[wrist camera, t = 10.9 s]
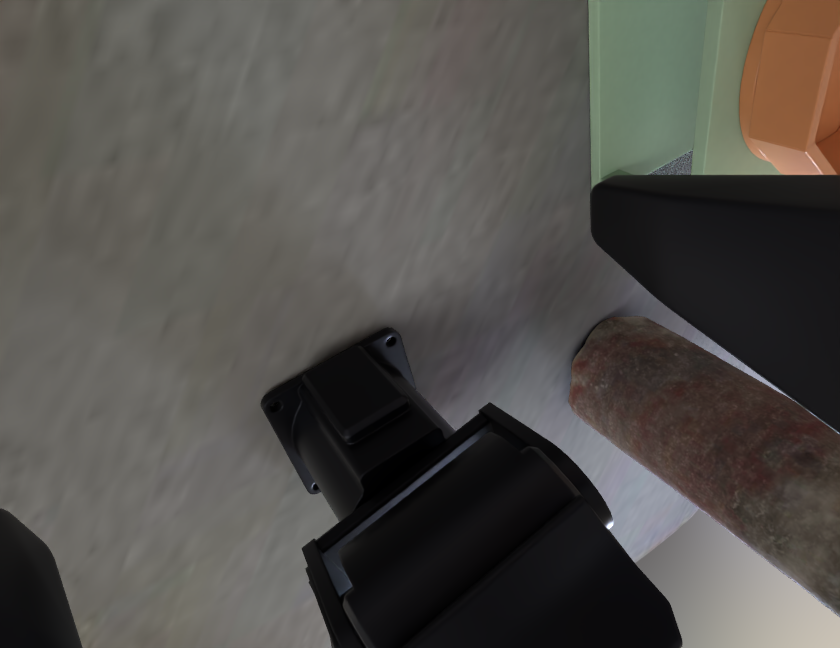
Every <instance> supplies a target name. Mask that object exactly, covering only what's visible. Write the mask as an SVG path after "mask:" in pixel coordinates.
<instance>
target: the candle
mask: <svg viewBox="0 0 840 648" xmlns="http://www.w3.org/2000/svg"><path fill="white" fill-rule="evenodd" d="M571 376H572V381H571V384H570V394H569V400H568V402H569V404H570V406H571V408H572V411H573V412H574V413H575V414H576V415H577V416H578V417H579V418H580V419H581V420H582V421H584V422H585V423H586V424H588V425H589V426H590V427H592V428H593V429H594V430H596V431H597V432H598V433H600V434H601V435H602V436H604V437H605V438H606V439H607V440H609V441H610V442H611V443H613V444H614V445H615V446H616V447H618V448H619V449H620V450H622V451H623V452H624V453H626V454H627V455H628V456H630V457H631V458H632V459H634V460H635V461H636V462H638V463H639V464H640V465H642V466H643V467H644V468H646V469H647V470H648V471H650V472H651V473H652V474H654V475H655V476H656V477H658V478H659V479H661V480H662V481H663V482H665V483H666V484H667V485H669V486H670V487H672V488H673V489H674V490H675V491H677V492H678V493H679V494H680V495H682V496H683V497H684V498H686V499H687V500H688V501H689V502H691V503H692V504H693V505H695V506H696V507H697V508H699V509H700V510H701V511H703V512H704V513H706V514H707V515H708V516H710V517H711V518H712V519H714V520H715V521H716V522H718V523H719V524H720V525H721V526H723V527H724V528H725V529H726V530H728V531H729V532H730V533H731V534H733V535H734V536H735V537H737V538H738V539H739V540H740V541H742V542H743V543H744V544H746V545H747V546H748V547H750V548H751V549H752V550H754V551H755V552H756V553H757V554H759V555H760V556H761V557H763V558H764V559H765V560H766V561H768V562H769V563H770V564H772V565H773V566H774V567H776V568H777V569H778V570H779V571H781V572H782V573H783V574H785V575H786V576H787V577H789V578H790V579H792V580H793V581H794V582H796V583H797V584H798V585H800V586H801V587H802V588H803V589H805V590H806V591H807V592H808V593H810V594H811V595H812V596H813V597H815V598H816V599H817V600H818V601H820V602H821V603H822V604H823V605H825V606H826V607H827V608H828V609H830V610H831V611H833V612H834V613H835V614H836V615H837V616H839V617H840V434H839V433H837V432H836V431H835V430H833V429H832V428H830V427H829V426H828V425H826V424H825V423H824V422H822V421H821V420H820V419H818V418H817V417H816V416H814V415H813V414H811V413H810V412H809V411H807V410H806V409H805V408H803V407H802V406H801V405H799V404H798V403H797V402H795V401H793V400H792V399H790V398H788V397H787V396H785V395H783V394H781V393H779V392H777V391H776V390H774V389H772V388H771V387H769V386H767V385H765V384H764V383H762V382H760V381H759V380H757V379H755V378H753V377H752V376H750V375H748V374H746V373H744V372H743V371H741V370H739V369H738V368H736V367H734V366H732V365H730V364H729V363H727V362H725V361H723V360H722V359H720V358H718V357H717V356H715V355H713V354H712V353H710V352H708V351H706V350H704V349H703V348H701V347H699V346H697V345H695V344H694V343H692V342H690V341H689V340H687V339H685V338H683V337H681V336H680V335H678V334H676V333H674V332H672V331H670V330H668V329H666V328H665V327H663V326H661V325H659V324H657V323H655V322H654V321H652V320H650V319H648V318H645V317H640V316H629V317H612V318H609V319H607V320H604V321H603V322H601V323H600V324H599V325H598V326H596V328H595V329H594V330H593V331H592V332H591V334H590V335H589V337H588V338H587V340H586V343H585V345H584V346H583V347H582V349H581V350H580V351H579V353H578V354H577V355H576V357H575V358H574V360H573V362H572V368H571Z"/></svg>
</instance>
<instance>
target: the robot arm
mask: <svg viewBox="0 0 840 648" xmlns="http://www.w3.org/2000/svg"><path fill="white" fill-rule="evenodd" d="M590 219H591V234H592V237H593V239H594V241H595V242H596V243H597V245H598V246H599V247H601V248H602V249H603V250H604V251H605V252H606V253H607V254H608V255H609V256H610V257H612V258H613V259H614V260H615V261H616V262H617V263H618V264H619V265H620V266H621V267H623V268H624V269H625V270H626V271H627V272H628V273H629V274H630V275H631V276H632V277H634V278H635V279H636V280H637V281H638V282H639V283H640V284H641V285H642V286H643V287H645V288H646V289H647V290H648V291H649V292H650V293H651V294H652V295H654V296H655V297H656V298H657V299H658V300H659V301H661V302H662V303H663V304H664V305H666V306H667V307H668V308H669V309H671V310H672V311H673V312H675V313H676V314H678V315H679V316H680V317H682V318H683V319H684V320H686V321H687V322H688V323H690V324H691V325H692V326H694V327H695V328H696V329H698V330H699V331H701V332H702V333H703V334H705V335H706V336H707V337H709V338H710V339H711V340H713V341H714V342H715V343H717V344H718V345H719V346H721V347H722V348H724V349H725V350H726V351H728V352H729V353H730V354H732V355H733V356H734V357H736V358H737V359H738V360H740V361H741V362H742V363H744V364H745V365H747V366H748V367H749V368H751V369H752V370H753V371H755V372H756V373H757V374H759V375H760V376H761V377H763V378H764V379H765V380H767V381H768V382H770V383H771V384H772V385H774V386H775V387H776V388H778V389H779V390H781V391H782V392H783V393H785V394H786V395H787V396H789V397H790V398H791V399H793V400H794V401H795V402H797V403H798V404H799V405H801V406H802V407H803V408H805V409H806V410H807V411H809V412H810V413H811V414H813V415H814V416H816V417H817V418H818V419H820V420H821V421H822V422H824V423H825V424H826V425H828V426H829V427H830V428H832V429H833V430H835V431H836V432H837V433H839V434H840V175H614V176H611V177H609V178H607V179H605V180H603V181H601V182H600V183H598V184H596V185H595V186H594V187H593V188H592V191H591V193H590ZM390 337H391V339H390V340H389V341H388V342H386V341H387V339H388V338H390ZM274 402H278V403H277V404H276V405H275V406H272V407H271V405H272V404H273V403H274ZM261 407H262V409H263V411H264V413H265V415H266V417H267V418H268V420H269V422H270V424H271V426H272V427H273V429H274V431H275V433H276V435H277V437H278V438H279V440H280V442H281V444H282V446H283V447H284V449H285V451H286V453H287V455H288V457H289V458H290V460H291V462H292V464H293V466H294V467H295V469H296V471H297V473H298V475H299V477H300V478H301V480H302V482H303V484H304V486H305V487H306V489H307V491H308V492H309V493H310V494H317V493H320V492H322V494H323V495H324V497H325V499H326V500H327V502H328V504H329V505H330V507H331V509H332V510H333V512H334V514H335V515H336V517H337V518H338V520H339V523H338V524H336V525H335V526H334V527H332V528H331V529H330V530H329V531H327V532H326V533H325V534H323V535H322V536H321V537H320V538H318V539H317V540H316V539H313V540H312V541H310V542H309V543H308V544H306V545H305V546H304V547H303V548H302V551H303V554H304V556H305V559H306V562H307V564H308V567H307V568H306V572H307V575H308V577H309V580H310V581H309V584H310V586H311V588H312V590H313V592H314V594H315V596H316V599H317V602H318V605H319V607H320V610H321V613H322V616H323V618H324V621H325V624H326V627H327V629H328V632H329V635H330V640H331V646H332V648H682V638H681V635H680V632H679V629H678V626H677V623H676V620H675V617H674V614H673V611H672V608H671V605H670V603H669V602H668V600H667V599H666V598H665V596H664V595H663V594H662V593H661V592H660V591H659V590H658V589H657V588H656V587H655V585H654V584H653V583H652V582H651V581H650V580H649V579H648V578H647V577H646V575H645V574H643V572H642V571H641V570H640V569H639V568H638V567H637V565H636V564H635V563H634V562H633V560H632V559H631V558H630V557H629V555H628V554H627V553H626V551H625V550H624V549H623V548H622V546H621V545H620V544H619V542H618V541H617V540H616V538H615V537H614V536H613V535H612V533H611V532H610V531H609V528H610V527H611V526H612V525H613V518H612V515H611V512H610V510H609V508H608V506H607V504H606V502H605V501H604V499H603V498H602V496H601V495H600V493H599V492H598V490H597V489H596V488H595V486H594V485H593V484H592V482H591V481H590V480H589V478H588V477H587V476H586V475H585V474H584V473H583V471H582V470H581V469H580V468H579V467H578V466H577V465H576V464H575V463H574V462H573V461H572V460H571V459H570V458H569V457H568V456H567V455H566V454H565V453H564V452H563V451H562V450H561V449H559V448H558V447H557V446H555V445H554V444H553V443H551V442H550V441H548V440H547V439H545V438H544V437H542V436H541V435H539V434H538V433H536V432H535V431H533V430H532V429H530V428H529V427H527V426H525V425H524V424H522V423H521V422H519V421H518V420H516V419H515V418H513V417H512V416H510V415H509V414H507V413H506V412H504V411H503V410H501V409H499V408H498V407H496V406H495V405H493V404H492V403H490V402H489V403H488V404H487V405H485V406H484V407H483V408H481V409H480V410H479V414H478V415H476V416H475V417H474V418H472V419H471V420H470V421H469V422H467V423H466V424H465V425H463V426H462V427H461V428H460V429H458V430H457V431H455V430H454V429H453V428H452V427H451V426H450V425H449V424H448V423H447V422H446V421H445V420H444V419H443V418H442V417H441V416H440V414H439V413H438V412H437V411H436V410H435V409H434V408H433V407H432V406H431V405H430V404H429V403H428V402H427V401H426V400H425V399H424V398H423V397H422V396H421V395H420V393H419V392H418V391H417V390H416V387H415V384H414V380H413V377H412V373H411V370H410V366H409V363H408V360H407V356H406V353H405V349H404V346H403V343H402V339H401V336H400V334H399V333H398V332H397V331H396V330H395V329H393V328H389V327H388V328H385V329H383V330H381V331H379V332H377V333H376V334H374V335H372V336H370V337H368V338H367V339H365V340H363V341H361V342H359V343H358V344H356V345H354V346H352V347H350V348H349V349H347V350H345V351H343V352H341V353H340V354H338V355H336V356H334V357H332V358H331V359H329V360H327V361H325V362H323V363H322V364H320V365H318V366H316V367H314V368H313V369H311V370H309V371H307V372H305V373H304V374H302V375H300V376H298V377H296V378H295V379H293V380H291V381H289V382H287V383H286V384H284V385H282V386H280V387H278V388H277V389H275V390H273V391H271V392H269V393H268V394H267V395H265V396H264V397H263V399H262V401H261ZM0 648H82V645H81V641H80V638H79V635H78V632H77V629H76V625H75V622H74V619H73V616H72V613H71V610H70V606H69V603H68V600H67V597H66V594H65V591H64V587H63V584H62V581H61V578H60V575H59V571H58V568H57V565H56V562H55V559H54V557H53V555H52V553H51V551H50V549H49V548H48V546H47V545H46V544H45V543H44V542H43V541H42V540H41V539H40V538H38V537H37V536H36V535H35V534H34V533H33V532H32V531H30V530H29V529H28V528H27V527H26V526H25V525H24V524H22V523H21V522H20V521H19V520H18V519H17V518H16V517H14V516H13V515H12V514H11V513H10V512H8V511H6V510H4V509H0Z"/></svg>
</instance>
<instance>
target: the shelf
mask: <svg viewBox="0 0 840 648" xmlns="http://www.w3.org/2000/svg"><path fill="white" fill-rule="evenodd" d="M766 1H767V0H588V12H589V75H590V137H591V191H592V188H593V187H594V186H595V185H596V184H598V183H600V182H601V181H603V180H605V179H607V178H609V177H611V176H614V175H647V174H649V173H651V172H653V171H655V170H656V169H658V168H660V167H662V166H664V165H666V164H667V163H669V162H671V161H673V160H675V159H676V158H678V157H680V156H682V155H684V154H685V153H687V152H689V151H691V150H693V156H692V166H691V175H784V174H781V173H780V172H779V171H778V170H777V169H776V168H775V167H774V165H773V164H772V163H771V162H768V161H764V160H762V159H760V158H758V157H757V156H755V155H754V154H753V153H752V152H751V151H750V149H749V148H748V147H747V145H746V143H745V141H744V138H743V135H742V131H741V127H740V118H739V96H740V86H741V80H742V74H743V69H744V64H745V60H746V56H747V52H748V48H749V45H750V42H751V39H752V36H753V33H754V30H755V27H756V25H757V22H758V20H759V17H760V15H761V12H762V10H763V8H764V6H765V3H766Z"/></svg>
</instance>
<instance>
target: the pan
mask: <svg viewBox="0 0 840 648" xmlns="http://www.w3.org/2000/svg"><path fill="white" fill-rule="evenodd" d="M739 118H740V127H741V131H742V135H743V138H744V141H745V143H746V145H747V147H748V148H749V149H750V151H751V152H752V153H753V154H754V155H755V156H757V157H758V158H760V159H762V160H764V161H768V162H771V163H772V164H773V165H774V167H775V168H776V169H777V170H778V171H779V172H780V173H781V174H784V175H840V0H767V1H766V3H765V6H764V8H763V10H762V12H761V15H760V17H759V20H758V22H757V25H756V27H755V30H754V33H753V36H752V39H751V42H750V45H749V48H748V52H747V56H746V60H745V64H744V69H743V74H742V80H741V86H740V96H739Z"/></svg>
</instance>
